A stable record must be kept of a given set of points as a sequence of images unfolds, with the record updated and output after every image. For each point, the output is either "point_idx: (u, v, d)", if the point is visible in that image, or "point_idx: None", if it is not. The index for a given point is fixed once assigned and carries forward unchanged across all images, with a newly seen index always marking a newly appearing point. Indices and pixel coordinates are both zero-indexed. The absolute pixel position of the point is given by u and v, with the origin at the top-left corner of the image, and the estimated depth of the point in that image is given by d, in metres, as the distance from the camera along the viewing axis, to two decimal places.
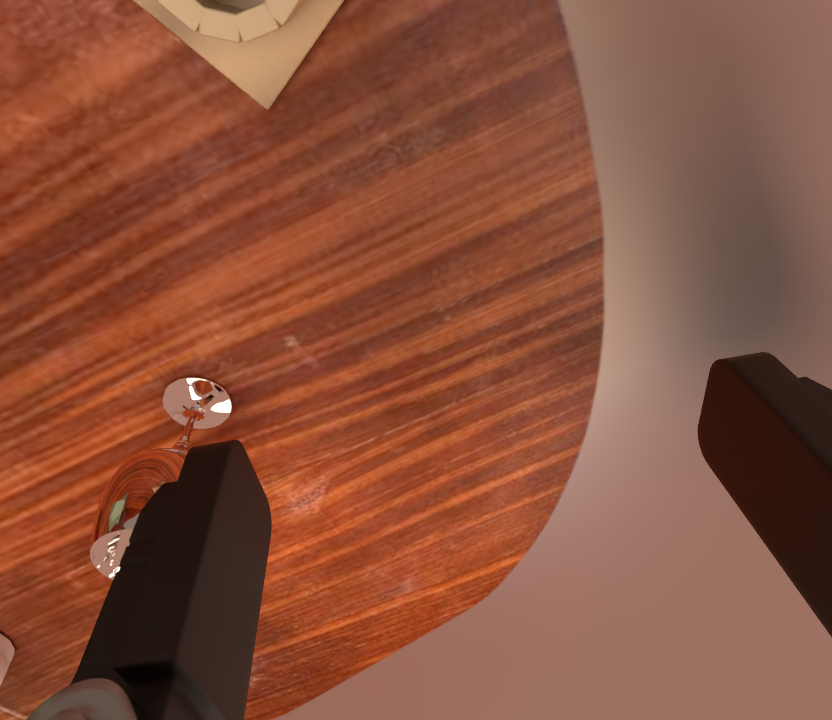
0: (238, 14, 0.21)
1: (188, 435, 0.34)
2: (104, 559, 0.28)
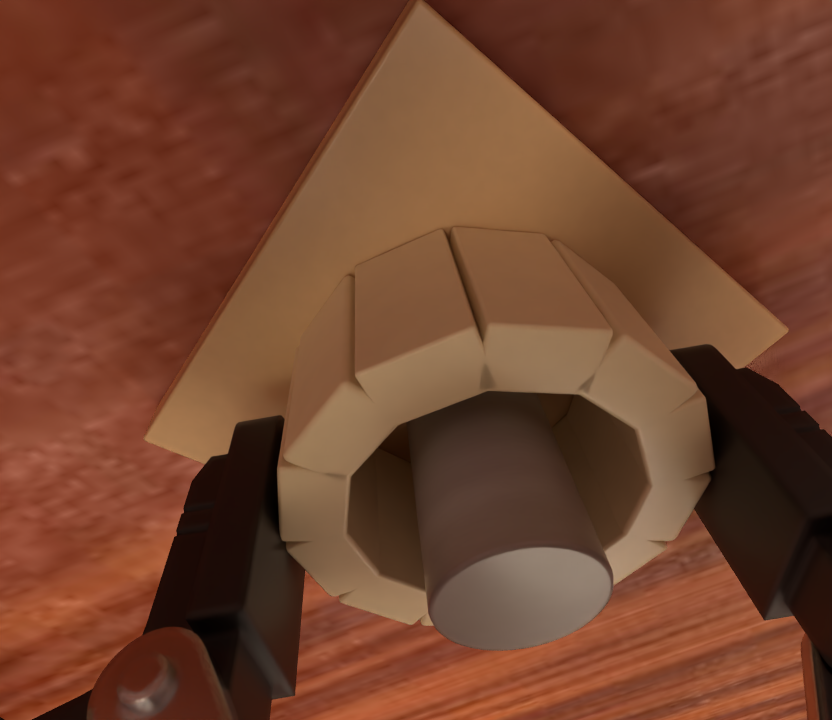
0: None
1: None
2: None
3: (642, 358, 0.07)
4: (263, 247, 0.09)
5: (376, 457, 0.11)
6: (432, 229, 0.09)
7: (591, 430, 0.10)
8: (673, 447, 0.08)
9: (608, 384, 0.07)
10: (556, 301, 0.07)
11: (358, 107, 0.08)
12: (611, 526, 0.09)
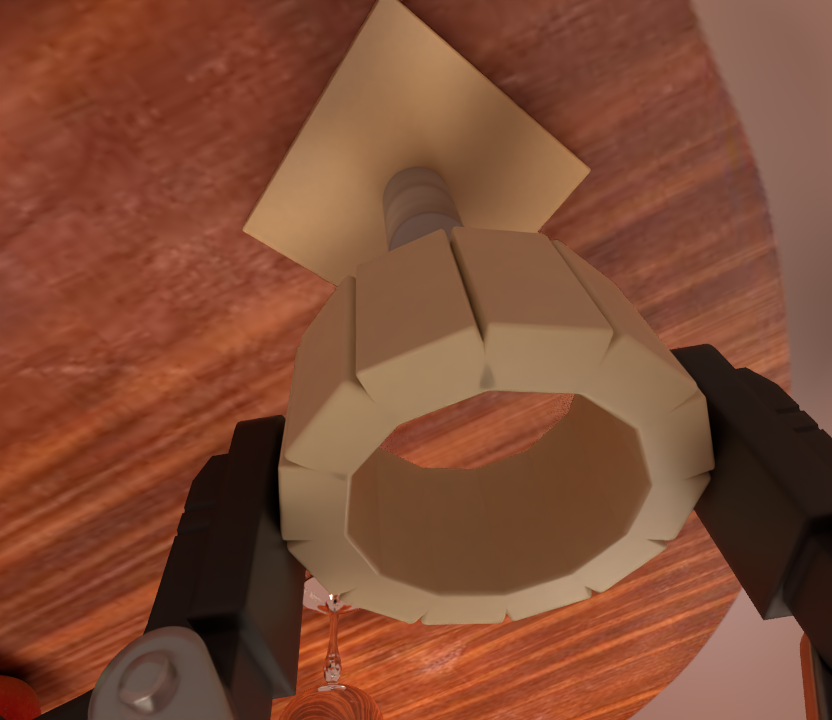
0: (511, 593, 0.10)
1: (336, 643, 0.32)
2: None
3: (642, 356, 0.07)
4: (312, 112, 0.18)
5: (377, 457, 0.11)
6: (395, 103, 0.18)
7: (591, 430, 0.10)
8: (673, 447, 0.08)
9: (608, 384, 0.07)
10: (556, 301, 0.07)
11: (358, 39, 0.17)
12: (611, 525, 0.09)
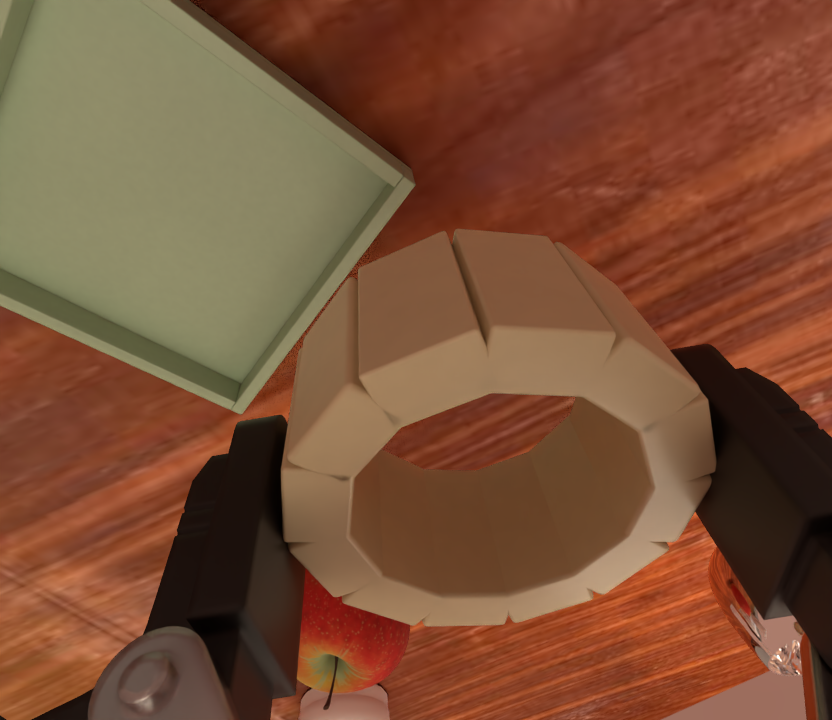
0: (513, 595, 0.10)
1: None
2: None
3: (646, 360, 0.07)
4: None
5: (378, 458, 0.11)
6: None
7: (593, 431, 0.10)
8: (676, 449, 0.08)
9: (611, 386, 0.07)
10: (559, 304, 0.07)
11: None
12: (613, 527, 0.09)
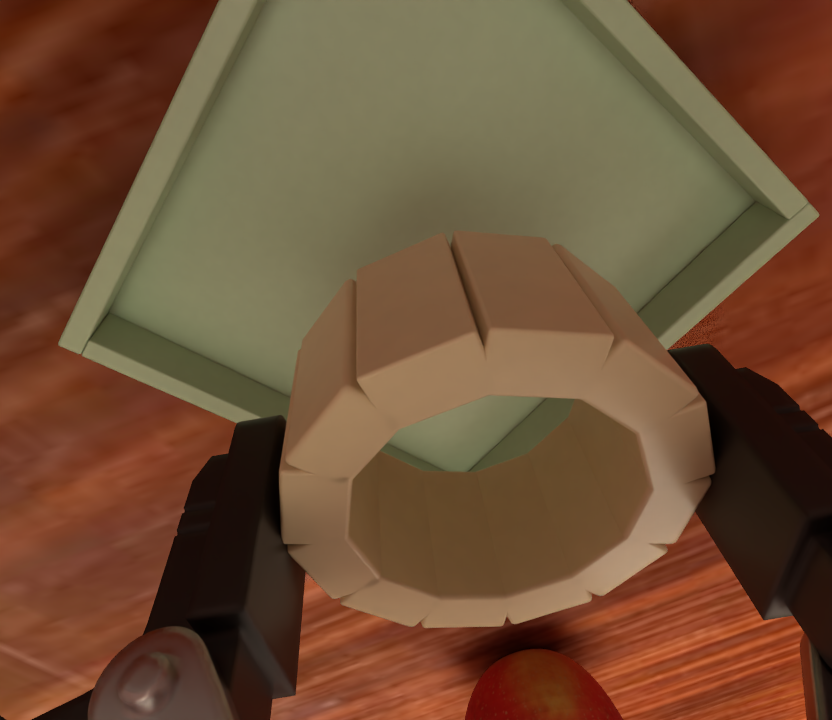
0: (511, 596, 0.10)
1: None
2: None
3: (643, 362, 0.07)
4: None
5: (377, 459, 0.11)
6: None
7: (592, 433, 0.10)
8: (674, 452, 0.08)
9: (609, 389, 0.07)
10: (557, 306, 0.07)
11: None
12: (612, 529, 0.09)
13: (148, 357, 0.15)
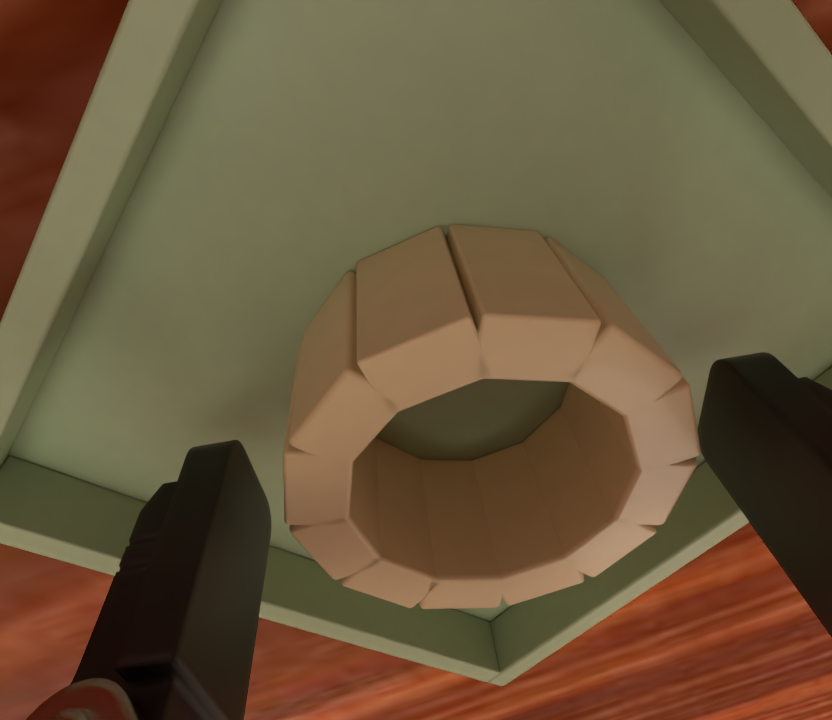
0: (506, 578, 0.10)
1: None
2: None
3: (629, 346, 0.07)
4: None
5: (376, 448, 0.11)
6: None
7: (584, 420, 0.11)
8: (660, 434, 0.08)
9: (597, 372, 0.07)
10: (547, 293, 0.07)
11: None
12: (602, 510, 0.10)
13: (61, 523, 0.11)
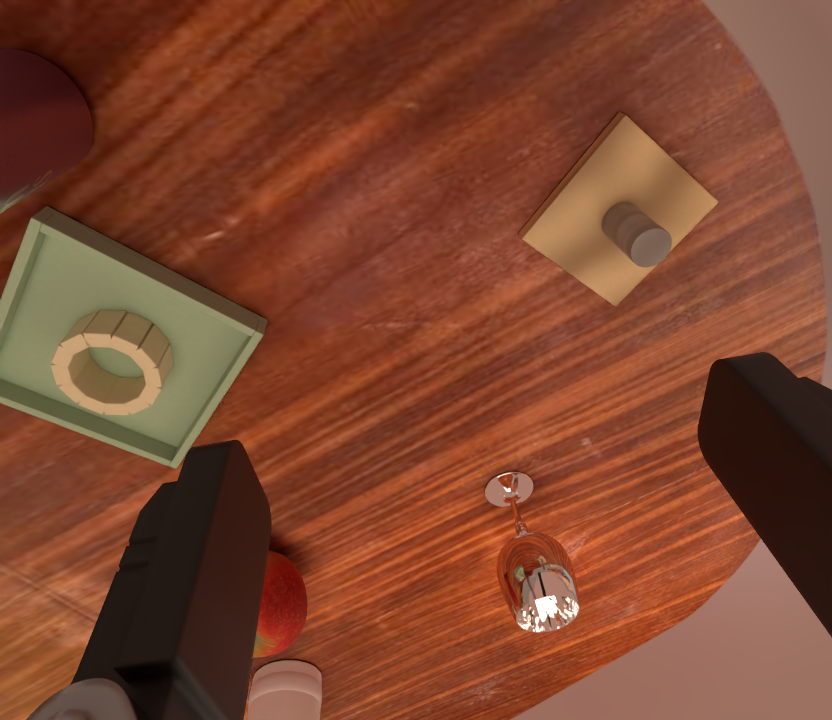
0: (125, 404, 0.37)
1: (520, 516, 0.47)
2: None
3: (119, 339, 0.34)
4: (575, 175, 0.33)
5: (101, 372, 0.38)
6: (619, 169, 0.33)
7: None
8: (141, 360, 0.35)
9: (115, 345, 0.34)
10: (104, 328, 0.34)
11: (607, 138, 0.32)
12: (145, 383, 0.36)
13: (6, 394, 0.37)
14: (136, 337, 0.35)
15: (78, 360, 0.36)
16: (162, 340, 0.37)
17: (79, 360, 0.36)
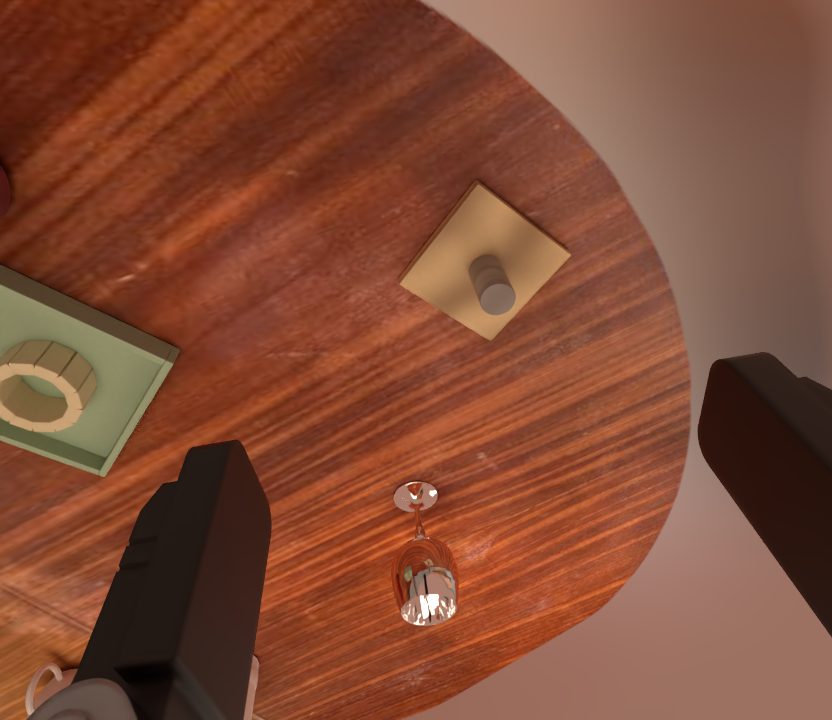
0: (51, 422, 0.41)
1: (420, 522, 0.52)
2: (401, 610, 0.46)
3: (41, 368, 0.39)
4: (440, 232, 0.38)
5: (32, 393, 0.43)
6: (478, 228, 0.38)
7: None
8: (62, 386, 0.40)
9: (38, 373, 0.39)
10: (28, 358, 0.39)
11: (464, 202, 0.37)
12: (68, 405, 0.41)
13: None
14: (58, 366, 0.40)
15: (8, 384, 0.41)
16: (84, 366, 0.42)
17: (9, 384, 0.41)
